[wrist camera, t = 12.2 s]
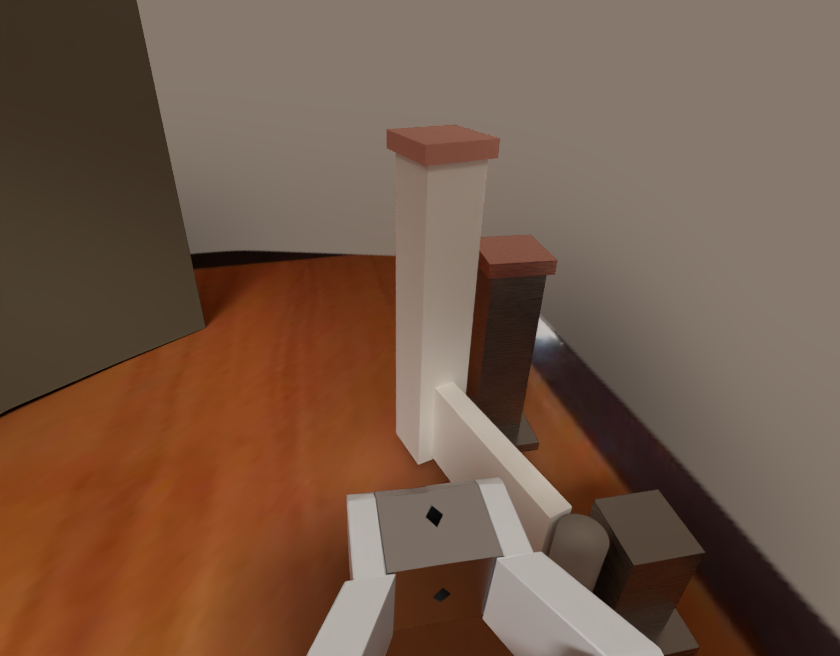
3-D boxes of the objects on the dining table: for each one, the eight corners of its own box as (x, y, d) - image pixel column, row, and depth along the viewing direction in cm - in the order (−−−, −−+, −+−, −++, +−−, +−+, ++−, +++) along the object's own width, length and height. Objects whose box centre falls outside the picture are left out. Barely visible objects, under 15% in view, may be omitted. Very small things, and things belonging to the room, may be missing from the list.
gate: (390, 431, 31) (386, 129, 22) (438, 414, 33) (454, 124, 23) (541, 654, 20) (670, 242, 11) (603, 613, 22) (765, 219, 12)
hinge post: (588, 678, 20) (624, 597, 17) (540, 566, 24) (561, 484, 21) (695, 654, 21) (747, 572, 18) (631, 549, 25) (664, 468, 22)
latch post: (462, 459, 30) (480, 271, 23) (443, 406, 34) (454, 233, 28) (537, 449, 31) (576, 264, 24) (510, 399, 35) (537, 229, 28)
